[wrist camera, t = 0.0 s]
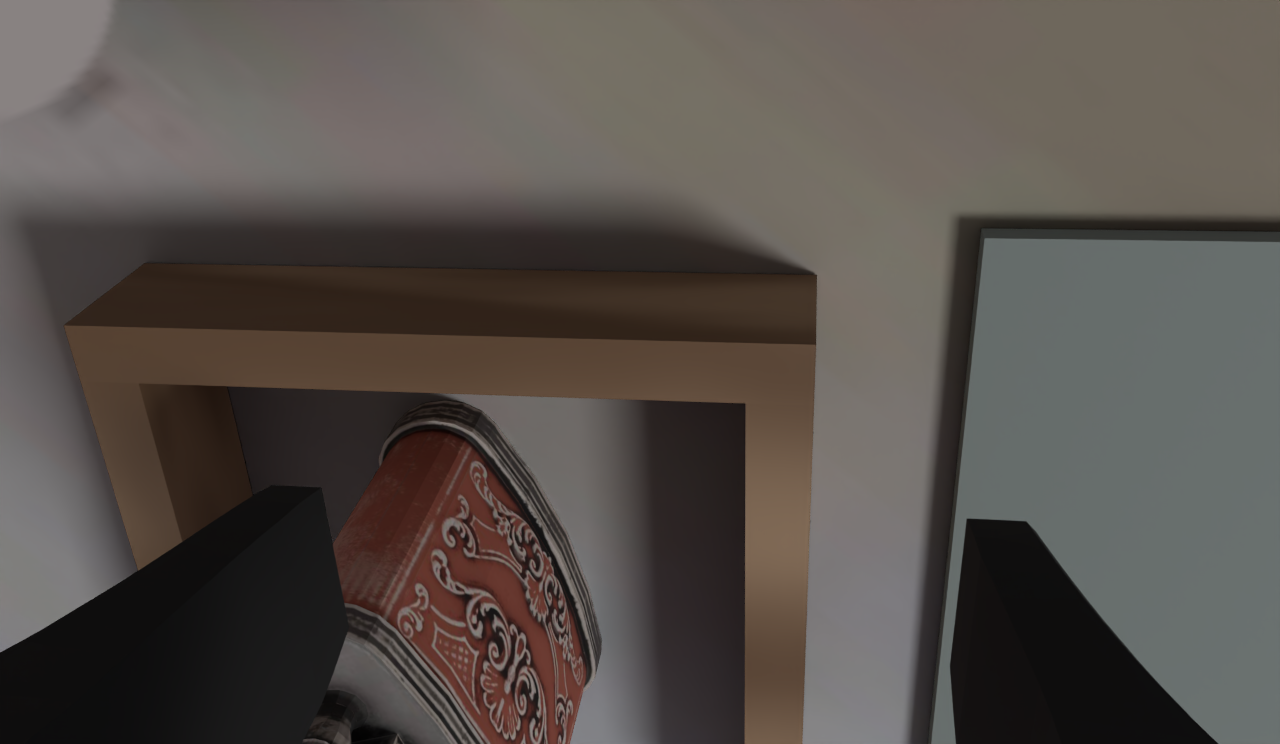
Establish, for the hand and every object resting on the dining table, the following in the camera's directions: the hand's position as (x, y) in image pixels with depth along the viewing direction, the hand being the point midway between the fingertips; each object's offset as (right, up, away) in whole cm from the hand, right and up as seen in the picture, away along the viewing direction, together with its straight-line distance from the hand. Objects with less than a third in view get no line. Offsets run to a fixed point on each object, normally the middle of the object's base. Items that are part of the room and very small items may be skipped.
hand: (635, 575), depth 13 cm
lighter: (-3, -2, +14) cm, 14 cm away
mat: (+11, -4, +13) cm, 18 cm away
